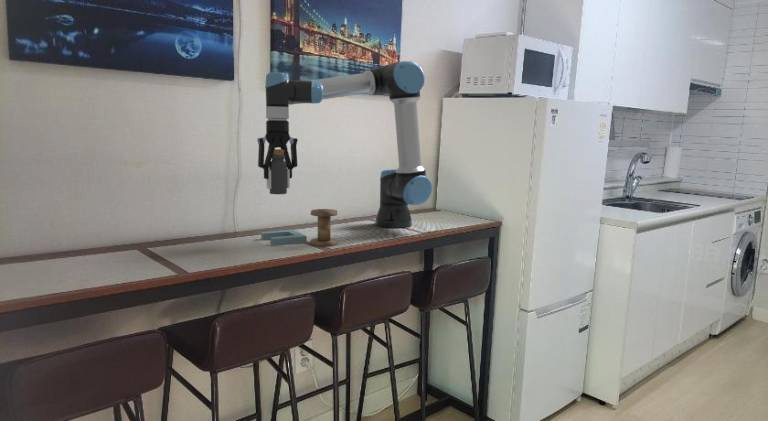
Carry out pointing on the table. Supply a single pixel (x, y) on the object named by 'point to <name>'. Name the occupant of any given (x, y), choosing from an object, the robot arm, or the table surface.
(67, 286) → the table surface
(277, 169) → the bottle
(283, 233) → the bracket
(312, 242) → the wooden spool
